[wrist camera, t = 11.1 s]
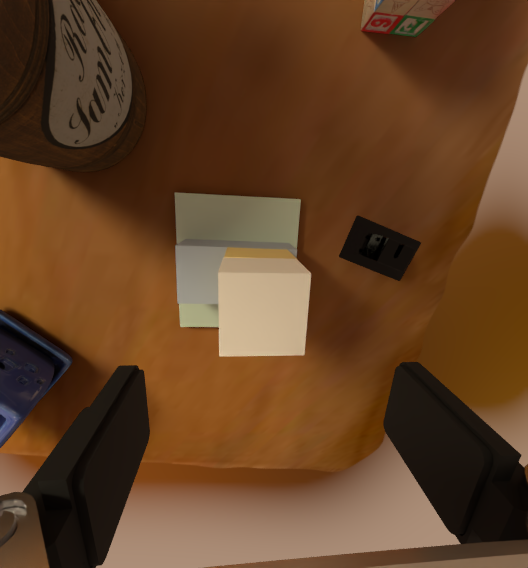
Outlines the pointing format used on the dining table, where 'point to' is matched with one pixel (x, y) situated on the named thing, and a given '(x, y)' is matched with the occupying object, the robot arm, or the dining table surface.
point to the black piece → (379, 248)
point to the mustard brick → (258, 253)
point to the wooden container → (67, 86)
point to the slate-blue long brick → (208, 266)
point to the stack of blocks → (401, 15)
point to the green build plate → (231, 231)
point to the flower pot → (25, 372)
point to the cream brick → (262, 306)
